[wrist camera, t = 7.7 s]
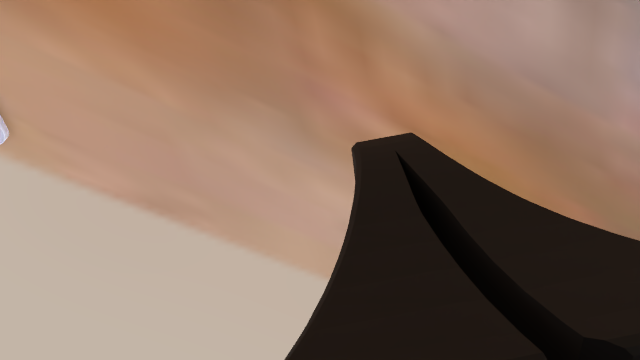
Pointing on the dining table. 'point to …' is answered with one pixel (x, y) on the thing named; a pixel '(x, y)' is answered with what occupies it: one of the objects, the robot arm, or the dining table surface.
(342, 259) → the robot arm
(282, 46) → the dining table surface
